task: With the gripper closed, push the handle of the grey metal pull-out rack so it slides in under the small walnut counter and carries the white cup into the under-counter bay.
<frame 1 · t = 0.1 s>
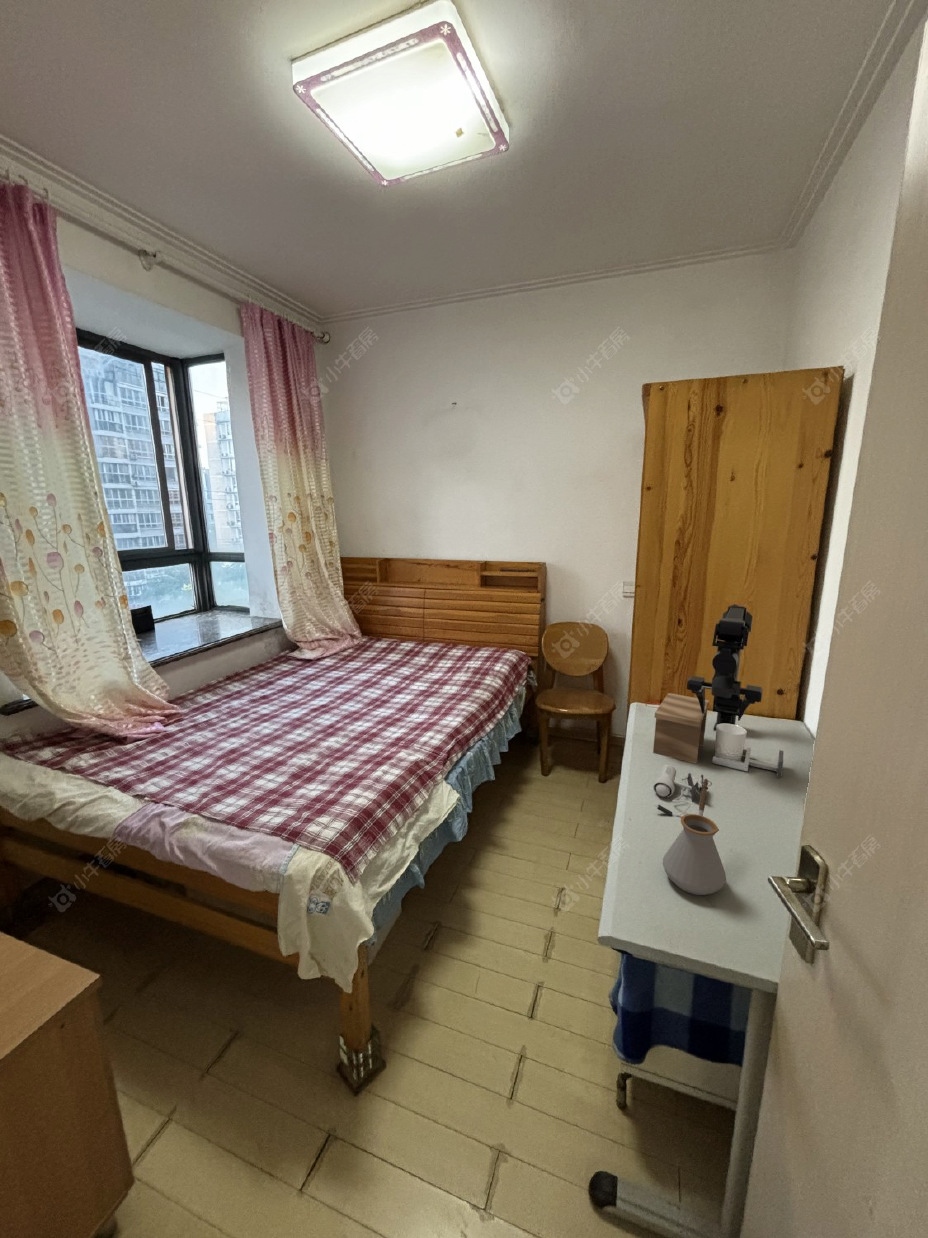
hand: (720, 716, 143), 15 cm above the table, fingers open, 9 cm apart
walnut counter: (678, 748, 156), on the table
clip-on lamp: (676, 801, 128), on the table
white cup: (727, 761, 148), on the table
pull-out rack: (747, 756, 145), point 3 cm above the table, slide at 12.5 cm
coffee pot: (694, 867, 104), on the table
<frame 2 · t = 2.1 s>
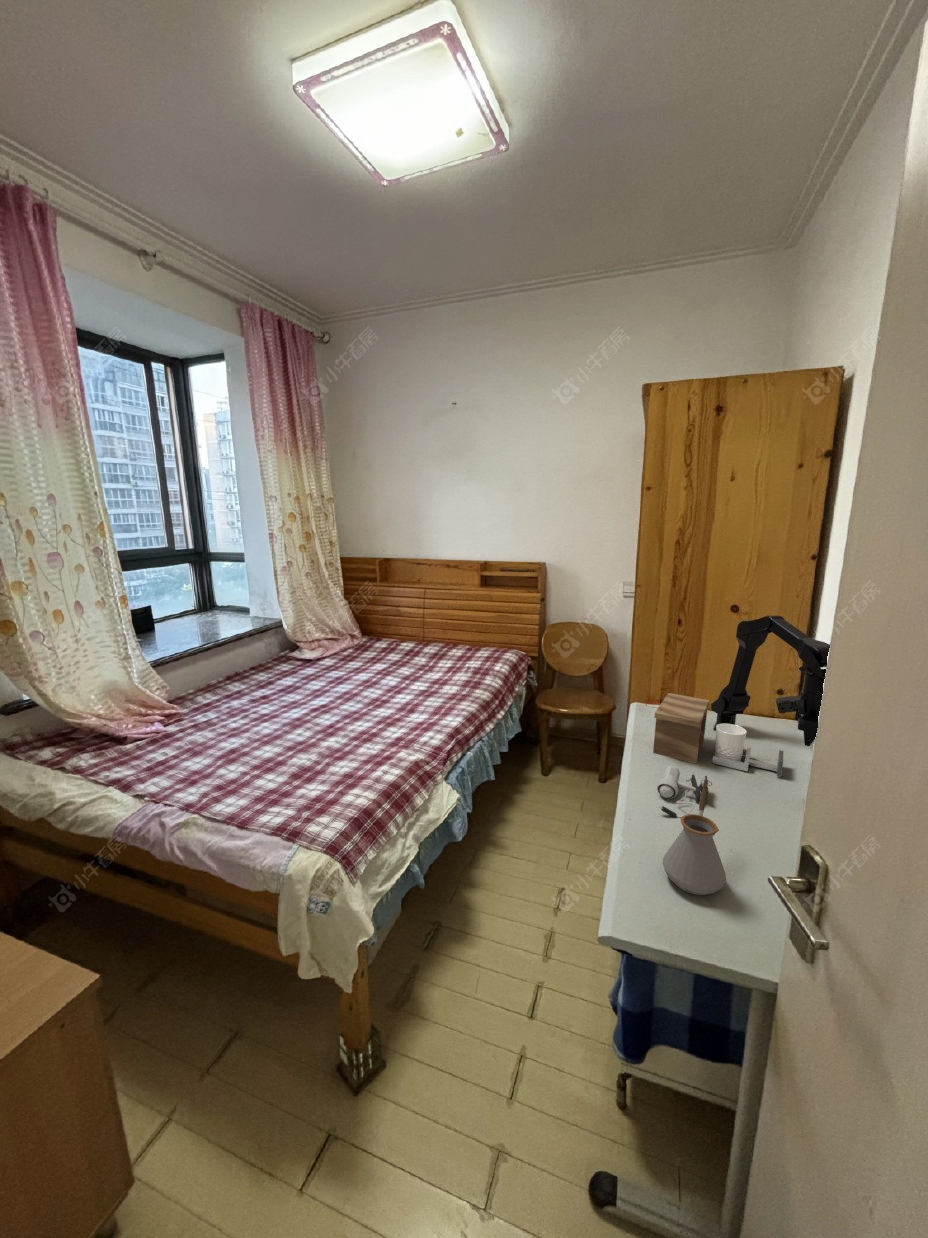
hand: (806, 745, 137), 10 cm above the table, fingers closed
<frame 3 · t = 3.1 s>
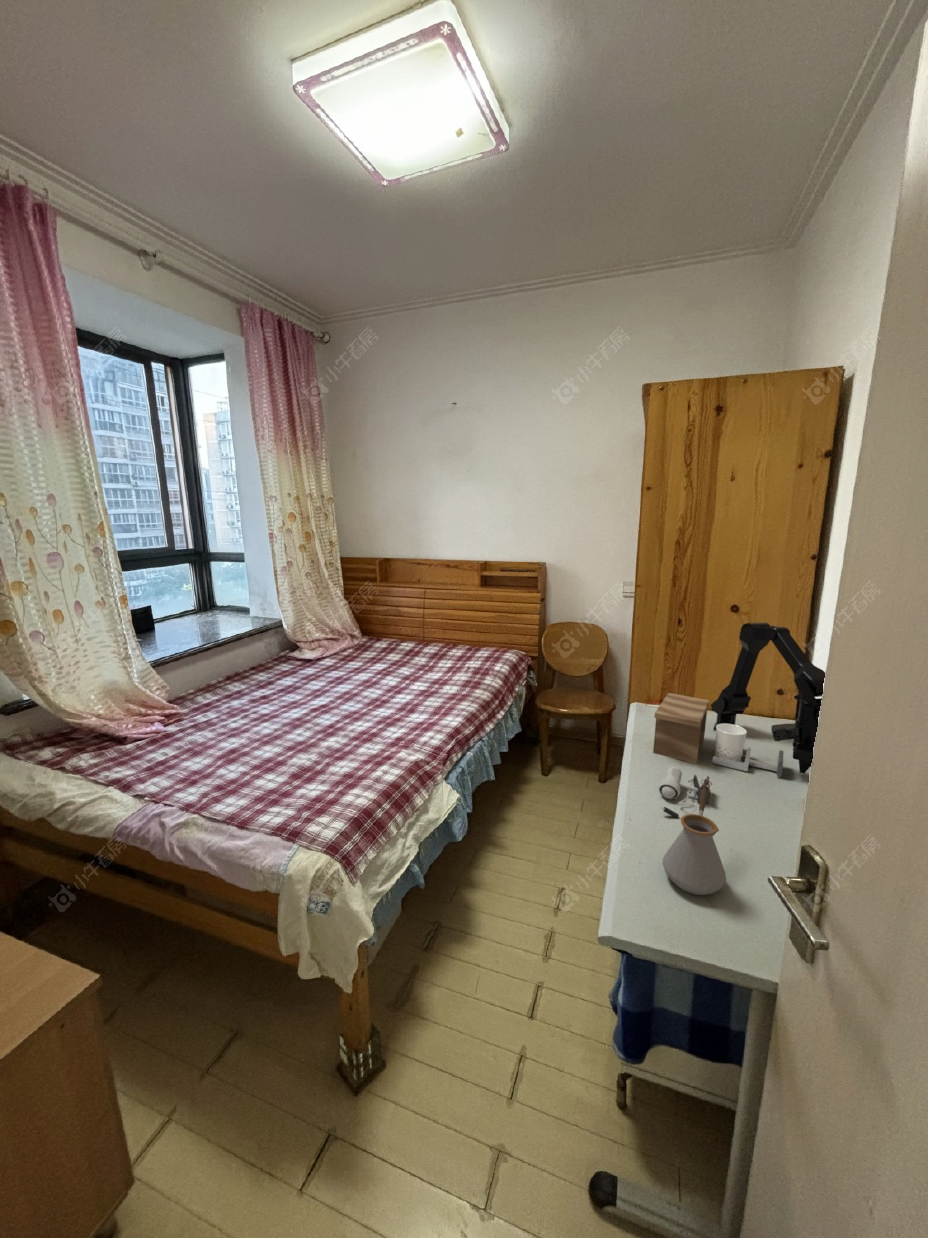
hand: (802, 772, 138), 1 cm above the table, fingers closed
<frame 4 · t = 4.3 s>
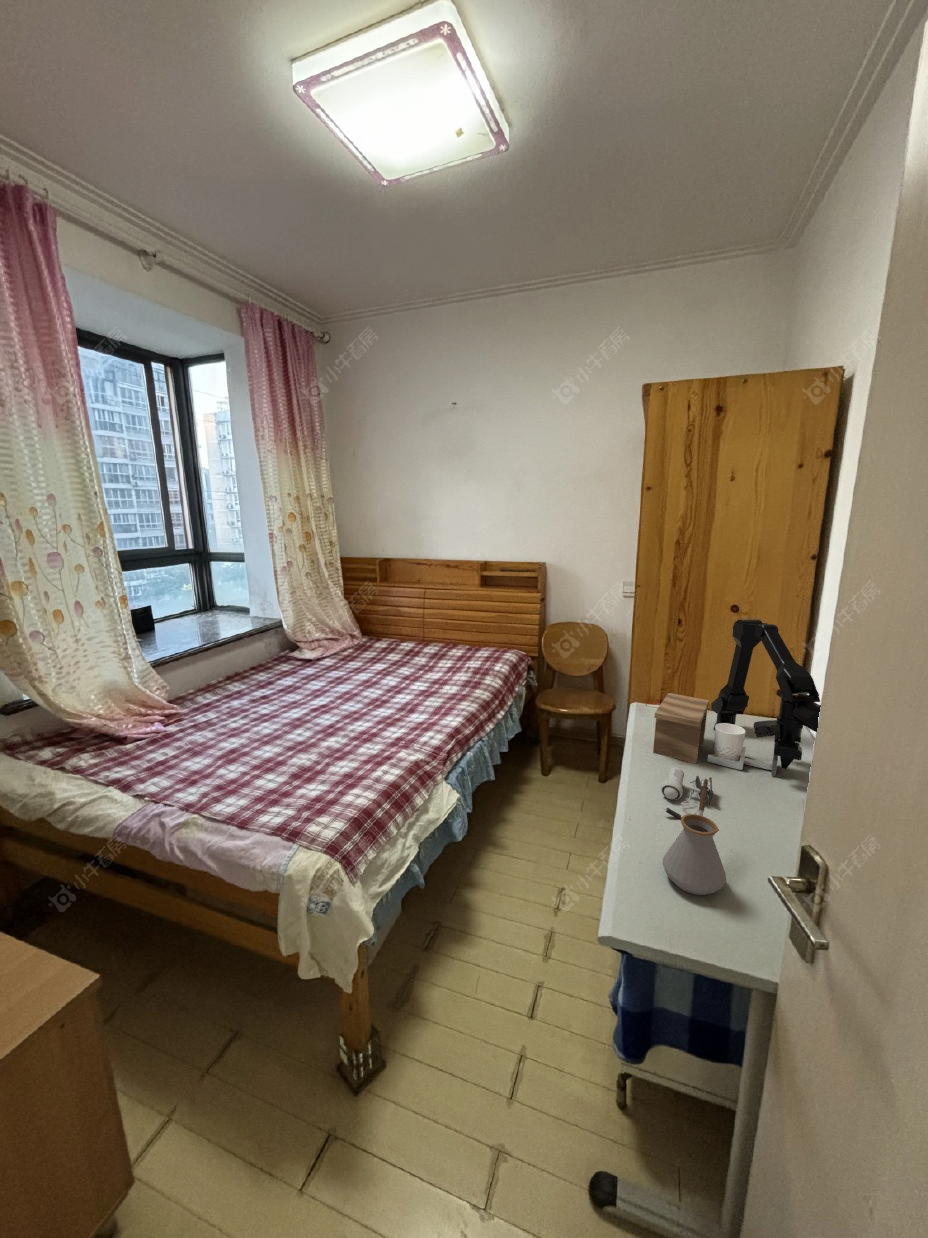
hand: (783, 768, 141), 1 cm above the table, fingers closed, pressing on pull-out rack
white cup: (726, 760, 149), on the table, touching pull-out rack
pull-out rack: (742, 754, 146), point 3 cm above the table, slide at 11.2 cm, touching white cup, gripper
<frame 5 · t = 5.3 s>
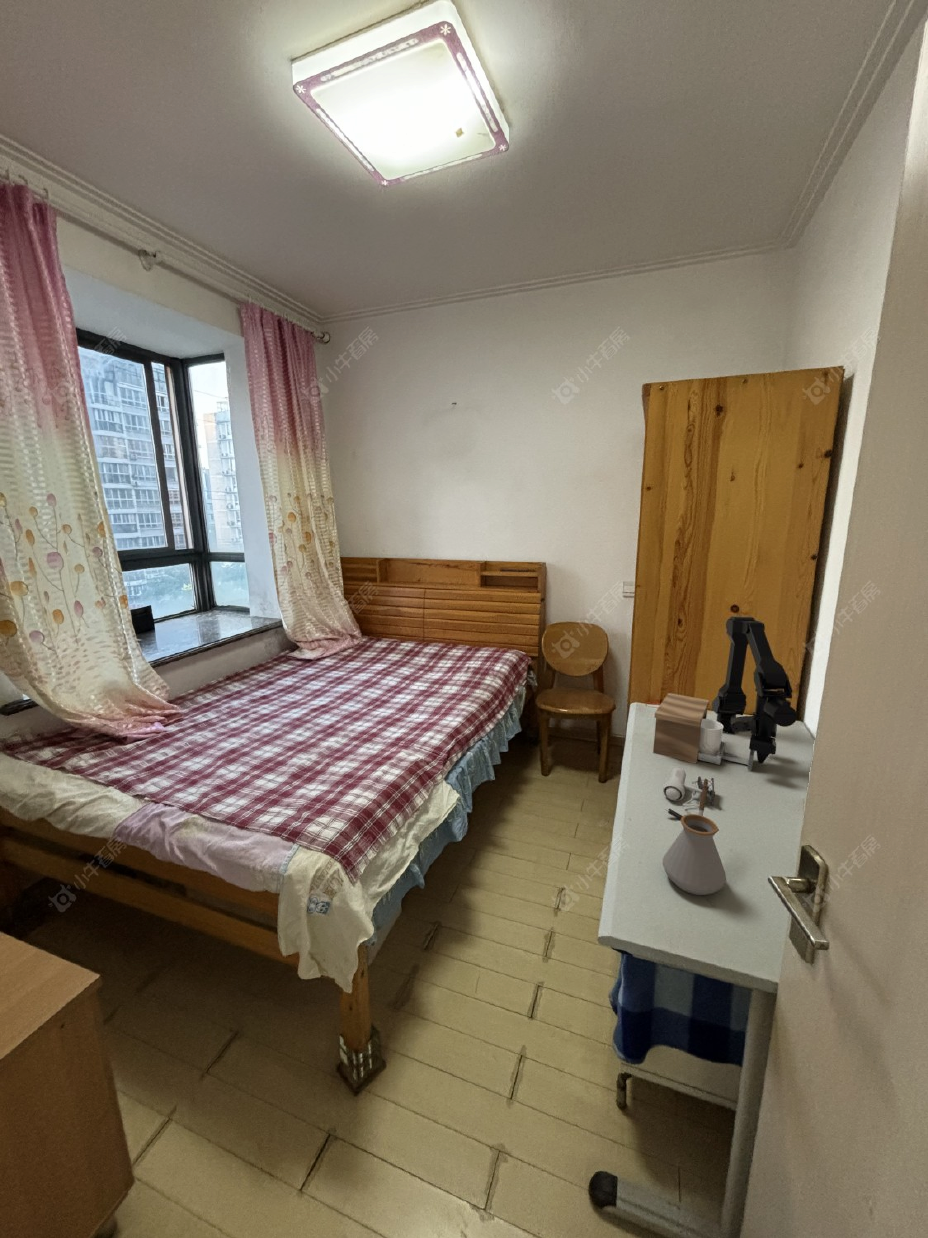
hand: (760, 763, 144), 1 cm above the table, fingers closed, pressing on pull-out rack
white cup: (705, 755, 152), on the table, touching pull-out rack
pull-out rack: (720, 749, 149), point 3 cm above the table, slide at 5.4 cm, touching white cup, gripper
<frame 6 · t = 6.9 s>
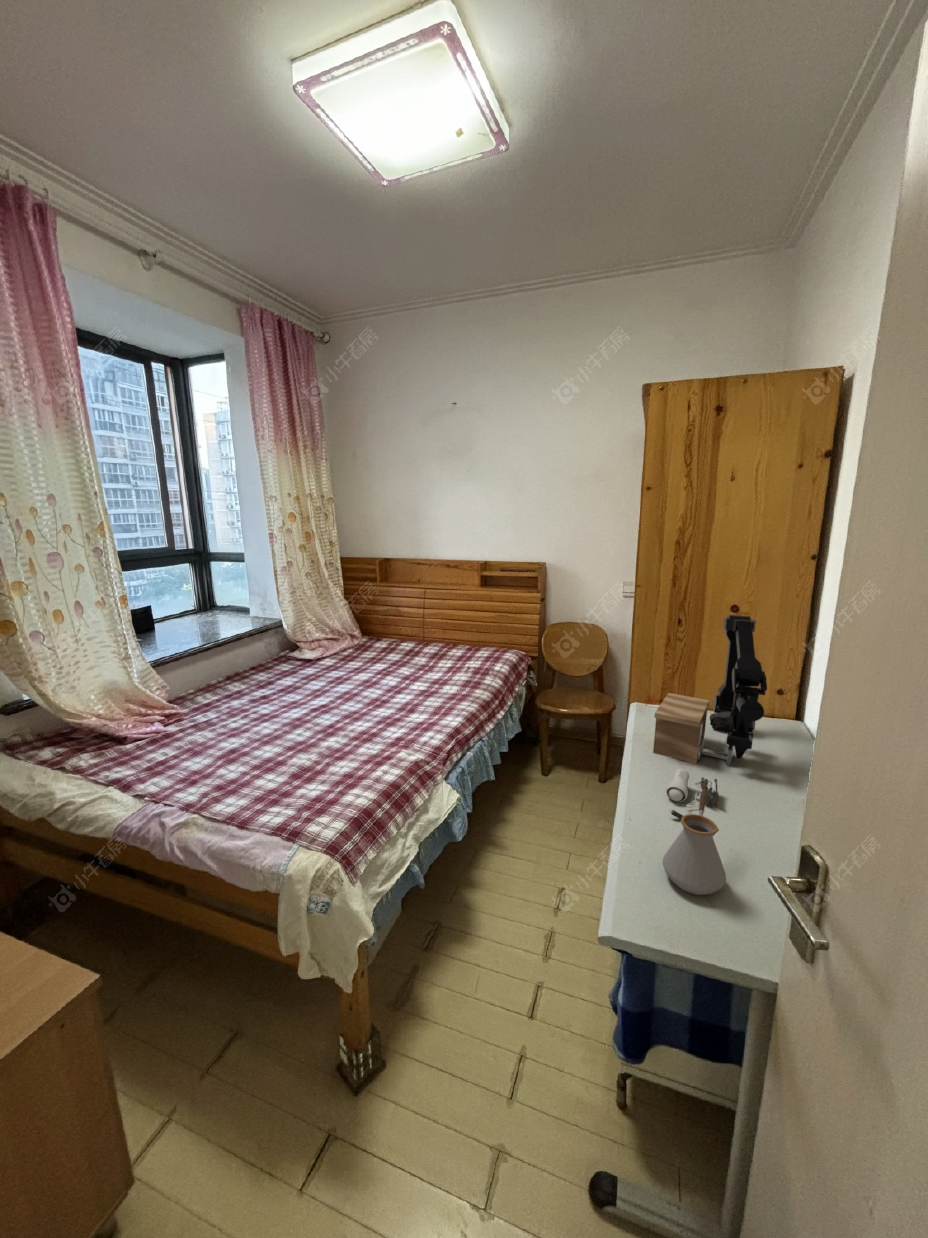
hand: (738, 758, 147), 1 cm above the table, fingers closed, pressing on pull-out rack
white cup: (685, 750, 155), on the table, touching pull-out rack
pull-out rack: (700, 745, 152), point 3 cm above the table, slide at -0.1 cm, touching white cup, gripper
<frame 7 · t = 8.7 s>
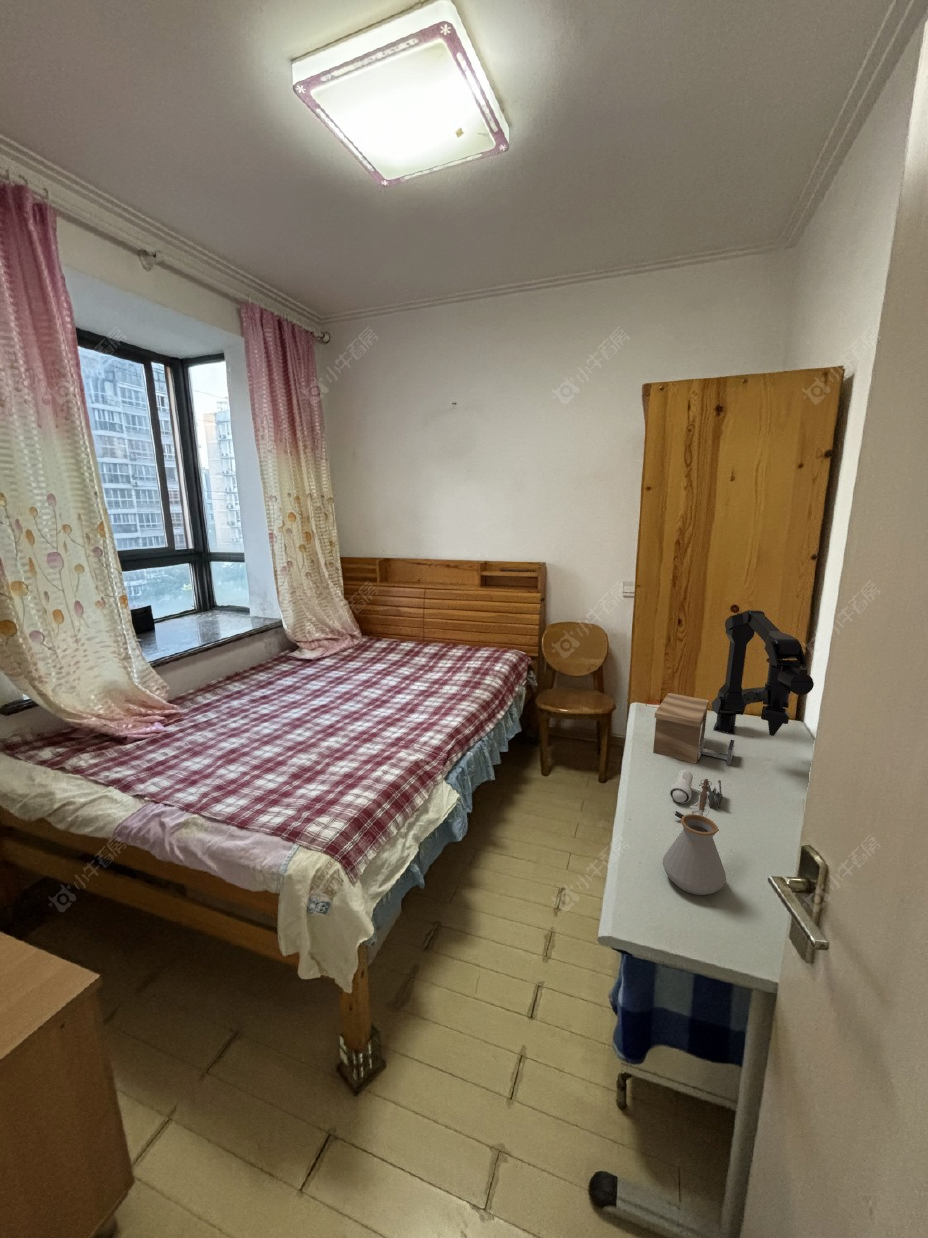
hand: (771, 735, 141), 11 cm above the table, fingers closed
white cup: (685, 750, 155), on the table
pull-out rack: (700, 745, 152), point 3 cm above the table, slide at 0.0 cm
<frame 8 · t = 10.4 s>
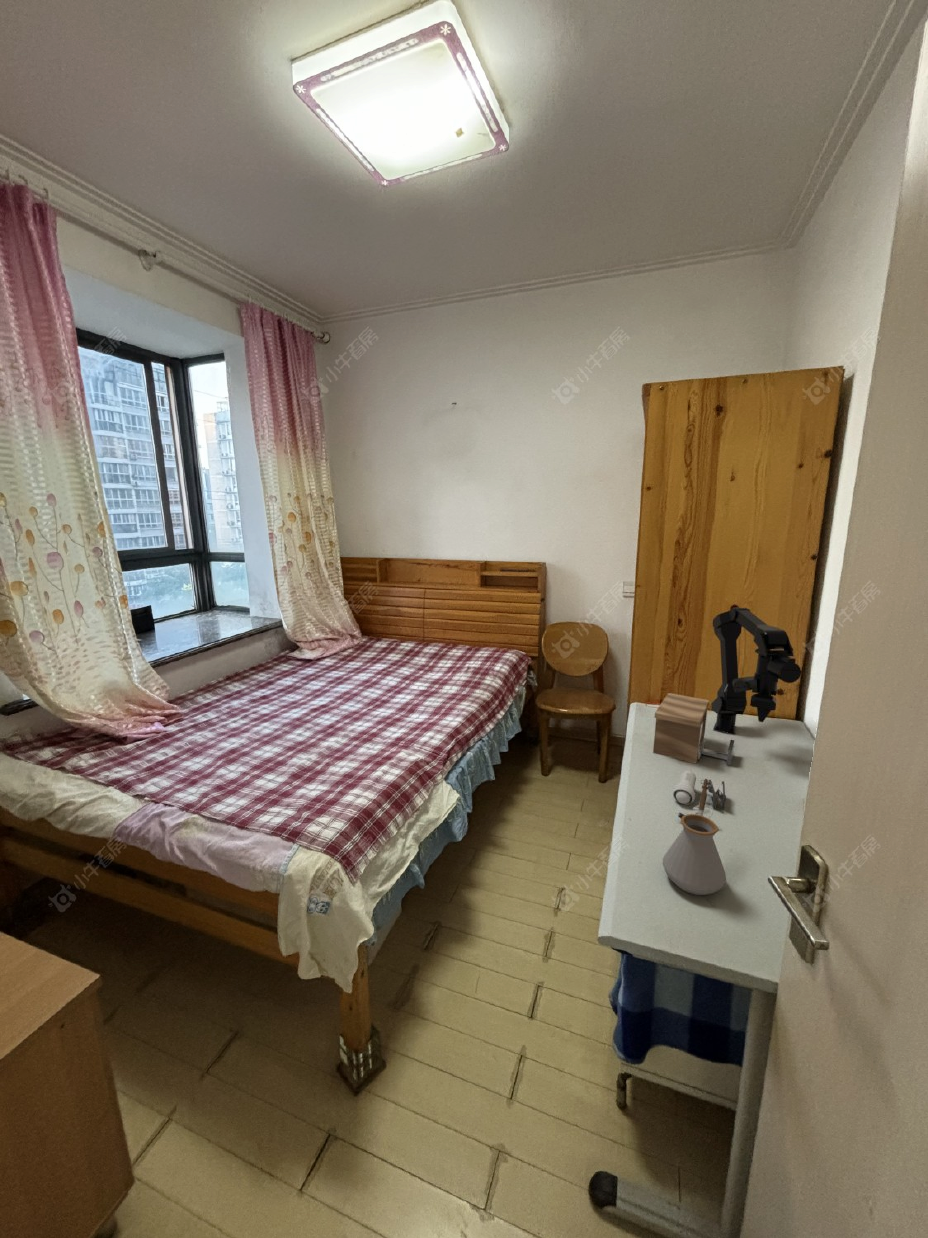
hand: (760, 721, 149), 11 cm above the table, fingers closed
at the end: pull-out rack slide at 0.0 cm; white cup inside the target area (2.0 cm from its centre), on the table; white cup tilted 0° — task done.
